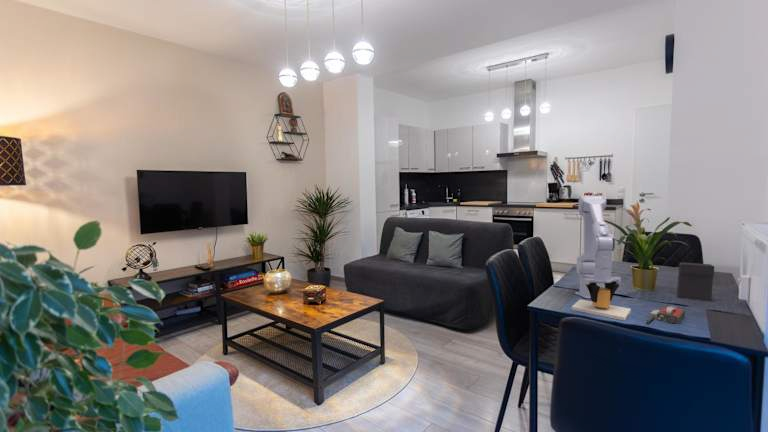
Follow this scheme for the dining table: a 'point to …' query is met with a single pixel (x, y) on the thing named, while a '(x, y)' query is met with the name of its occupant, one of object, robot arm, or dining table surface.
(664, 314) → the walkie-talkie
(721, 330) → the dining table surface
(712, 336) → the dining table surface
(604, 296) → the cap
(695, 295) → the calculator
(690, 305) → the dining table surface
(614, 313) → the plate
